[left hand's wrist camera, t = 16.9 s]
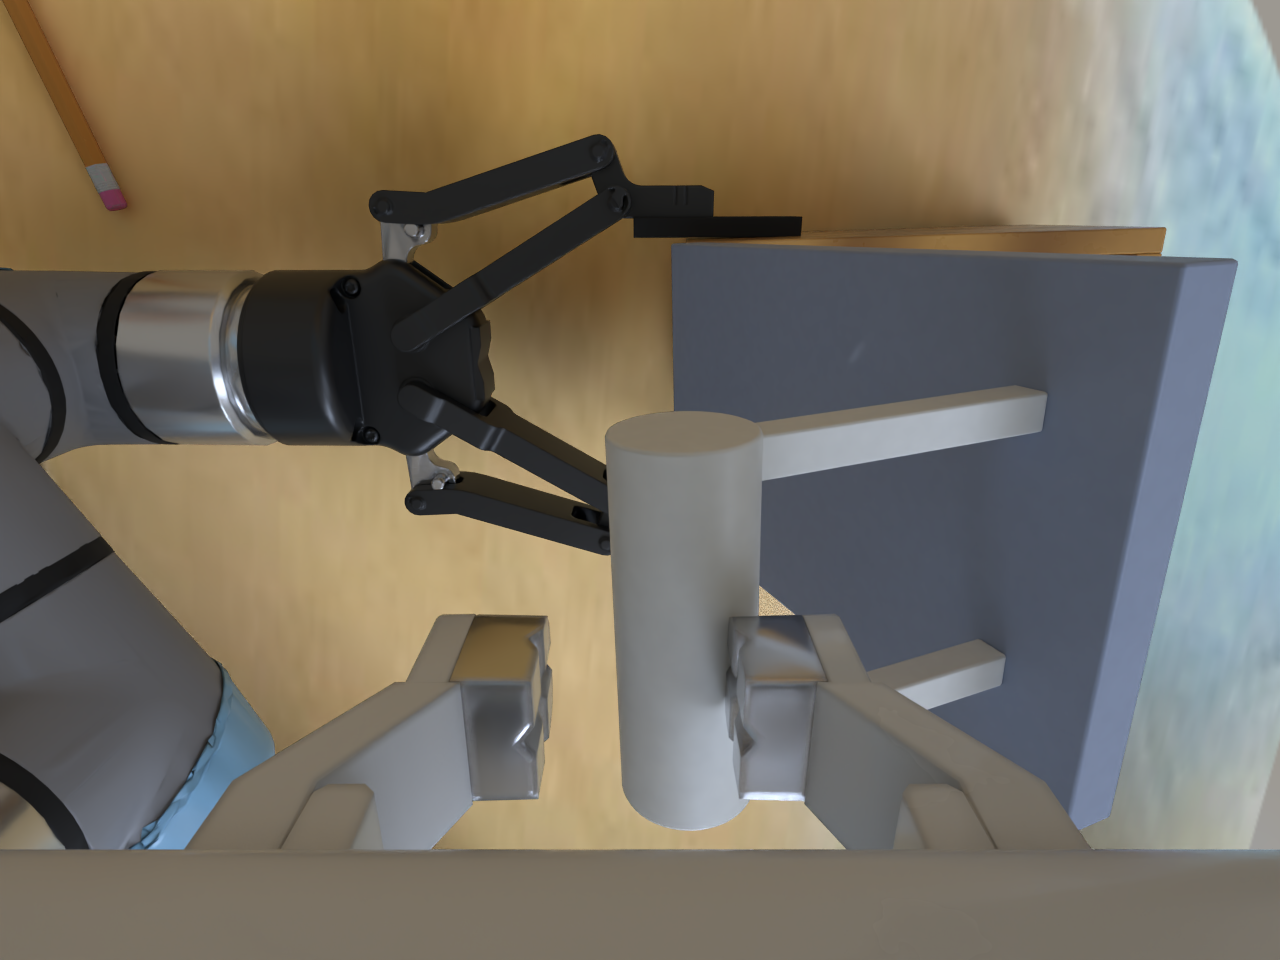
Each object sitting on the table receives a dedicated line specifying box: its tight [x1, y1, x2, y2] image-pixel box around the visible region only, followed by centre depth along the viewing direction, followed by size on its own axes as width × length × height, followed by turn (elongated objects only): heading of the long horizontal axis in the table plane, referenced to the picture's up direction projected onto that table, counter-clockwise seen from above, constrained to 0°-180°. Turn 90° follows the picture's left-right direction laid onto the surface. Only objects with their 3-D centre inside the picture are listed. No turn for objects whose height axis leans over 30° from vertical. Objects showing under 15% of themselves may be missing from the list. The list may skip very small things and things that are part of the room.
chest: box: [686, 225, 1166, 256], centre depth 32 cm, size 16×10×11 cm, turn 92°
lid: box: [605, 242, 1238, 831], centre depth 18 cm, size 17×10×9 cm
